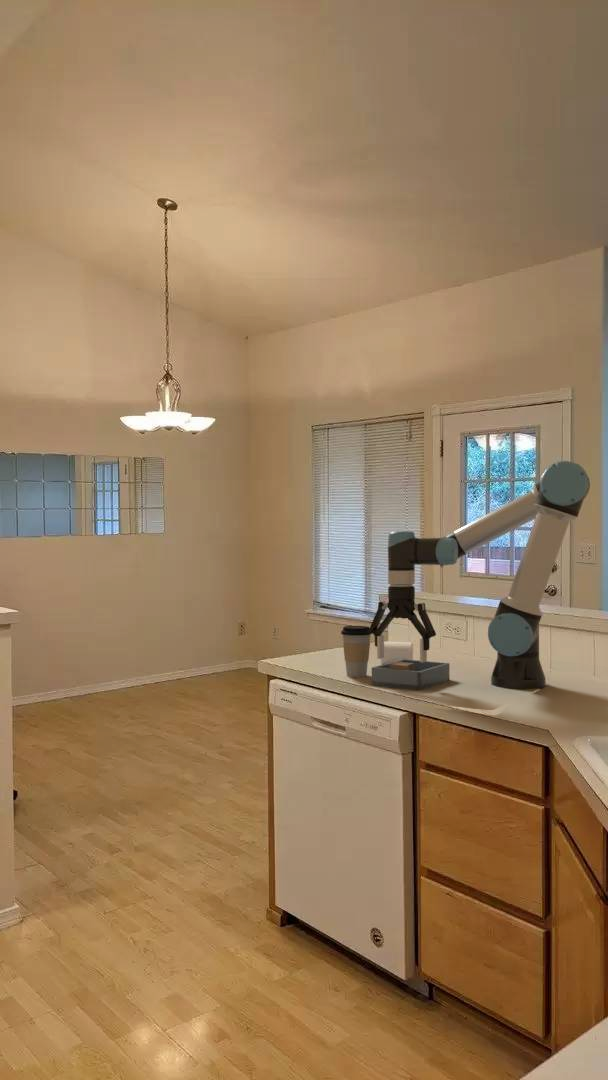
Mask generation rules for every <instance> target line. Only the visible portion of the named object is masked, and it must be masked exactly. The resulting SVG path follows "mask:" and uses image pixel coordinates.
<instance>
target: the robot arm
mask: <svg viewBox="0 0 608 1080" xmlns="http://www.w3.org/2000/svg"><path fill="white" fill-rule="evenodd" d="M590 483H591V482H590V478H589V476H588V474H587V471H586V470H585V469H584V467H582V466H581V465H580V464H578V463H576V462H574V461H569V460H561V461H557V462H554V463H552V464H551V465H549V466H548V467H547V468H546V469H545V471H544V472H542V475H541V477H540V481H539V482H538V483H536V484H534V485H533V488H532V490H530V491H528V492H526V493H525V494H522V495H520V496H519V497H517V498H515V499H513V500H511V501H508V502H507V503H506V504H503V505H501V506H499V507H497V508H495V509H493V510H492V511H490V512H488V513H487V514H485V515H483V516H481V517H479V518H478V519H477V518H476V519H474V520H473V521H472V522H470V523H468V524H466V525H464V526H462V527H460V528H458V529H456V530H455V531H453V532H450V533H449V534H447V535H445V536H443V537H430V538H429V537H427V538H426V537H425V538H421V537H420V538H419V537H416V536H415V532H414V531H390V533H388V541H387V542H388V543H387V559H388V561H387V564H388V566H387V568H388V570H387V571H388V572H387V573H388V575H387V576H388V577H387V584H388V585H389V586H388V588H387V594H388V595H387V596H388V597H387V599H388V602H386V601H385V600H383V601H379V602H377V603H378V606H377V610H376V612H375V615H374V617H373V619H372V621H371V623H370V626H369V633H372V634H371V635H374V646H375V647H376V648H377V649H376V653H377V655H376V657H377V660H381V658H384V642H385V635H384V634H383V632H384V631H385V630H386V629H387V628H388V626H389V625H390V624H391V623H392V621H393V620H394V619H399V618H400V619H402V620H403V619H404V620H405V619H407V620H408V621H410V623H411V624H412V625H413V626H414V628H415V629H416V631H417V633H418V634H419V635H420V637H422V638H420V639H419V661H420V662H421V663H423V662H426V661H428V656H427V655H428V651H430V639H431V638H433V637H435V636H436V635H437V633H436V630H435V628H434V626H433V623H432V621H431V620H430V618H429V614H428V613H427V609H426V604H425V602H421V603H415V602H416V601H415V598H416V595H415V594H416V592H415V590H416V587H415V586H414V585H415V580H416V579H415V576H416V575H415V568H416V566H415V565H423V566H424V565H428V566H429V565H430V566H431V565H432V566H448V565H449V566H450V565H451V566H452V565H455V564H456V563H457V561H458V559H459V558H462V557H463V556H466V555H468V554H469V553H472V552H473V551H475V550H477V549H479V548H481V547H483V546H485V545H486V544H488V543H490V542H492V541H495V540H496V539H499V538H500V537H502V536H504V535H506V534H507V533H510V532H512V531H515V530H516V529H518V528H519V527H522V526H524V525H525V524H528V523H529V522H531V521H533V520H534V521H533V524H532V527H531V530H530V532H529V534H528V535H529V536H528V539H527V542H526V544H525V547H524V549H523V553H522V555H521V558H520V561H519V564H518V567H517V570H516V572H515V574H514V578H513V580H512V583H511V587H510V589H509V592H508V594H507V595H506V596H504V597H503V598H500V601H499V604H498V606H497V608H496V612H495V614H494V617H493V618H492V620H491V621H490V623H489V624H488V627H487V628H488V630H487V637H488V638H487V639H488V641H489V644H490V646H491V647H492V649H494V650H495V651H496V653H497V657H496V661H495V664H494V667H493V671H492V672H491V676H490V678H491V679H490V684H491V686H494V687H497V688H503V689H510V690H536V689H543V688H545V687H546V683H547V682H546V675H545V672H544V670H543V667H542V664H541V660H540V623H541V622H540V621H541V619H542V616H543V612H542V610H541V608H540V605H541V603H542V602H541V601H542V599H543V598H544V597H543V596H544V594H545V591H546V588H547V586H548V582H549V580H550V577H551V574H552V572H553V568H554V566H555V563H556V560H557V557H558V556H559V555H558V554H559V551H560V549H561V546H562V544H563V541H564V538H565V535H566V532H567V529H568V527H569V524H570V523H571V522H572V521H574V520H576V519H577V518H578V516H579V514H580V511H581V508H582V506H583V502H584V500H585V499H586V497H587V496H588V494H589V492H590V485H591V484H590ZM387 608H388V610H389V612H388V613H387V614H386V615H385V618H384V619H383V617H384V614H385V611H386V610H387ZM415 610H416V611H417V612H418V615H419V617H420V619H421V620H419V618H418V616H417V614H416V613H415ZM382 619H383V620H382ZM381 621H382V622H381ZM421 621H422V622H421Z"/></svg>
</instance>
